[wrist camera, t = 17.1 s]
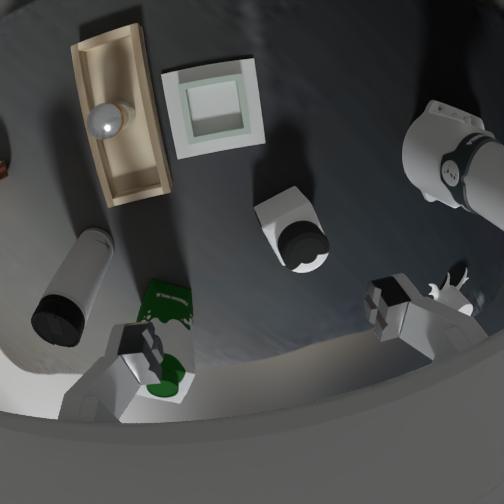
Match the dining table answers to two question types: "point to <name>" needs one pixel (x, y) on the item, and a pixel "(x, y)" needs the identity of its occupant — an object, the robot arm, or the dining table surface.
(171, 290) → the milk carton
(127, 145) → the trough
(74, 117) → the dining table surface
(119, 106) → the cell
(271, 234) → the medicine bottle
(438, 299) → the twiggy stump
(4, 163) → the tin
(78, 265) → the travel mug
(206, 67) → the checker cradle
